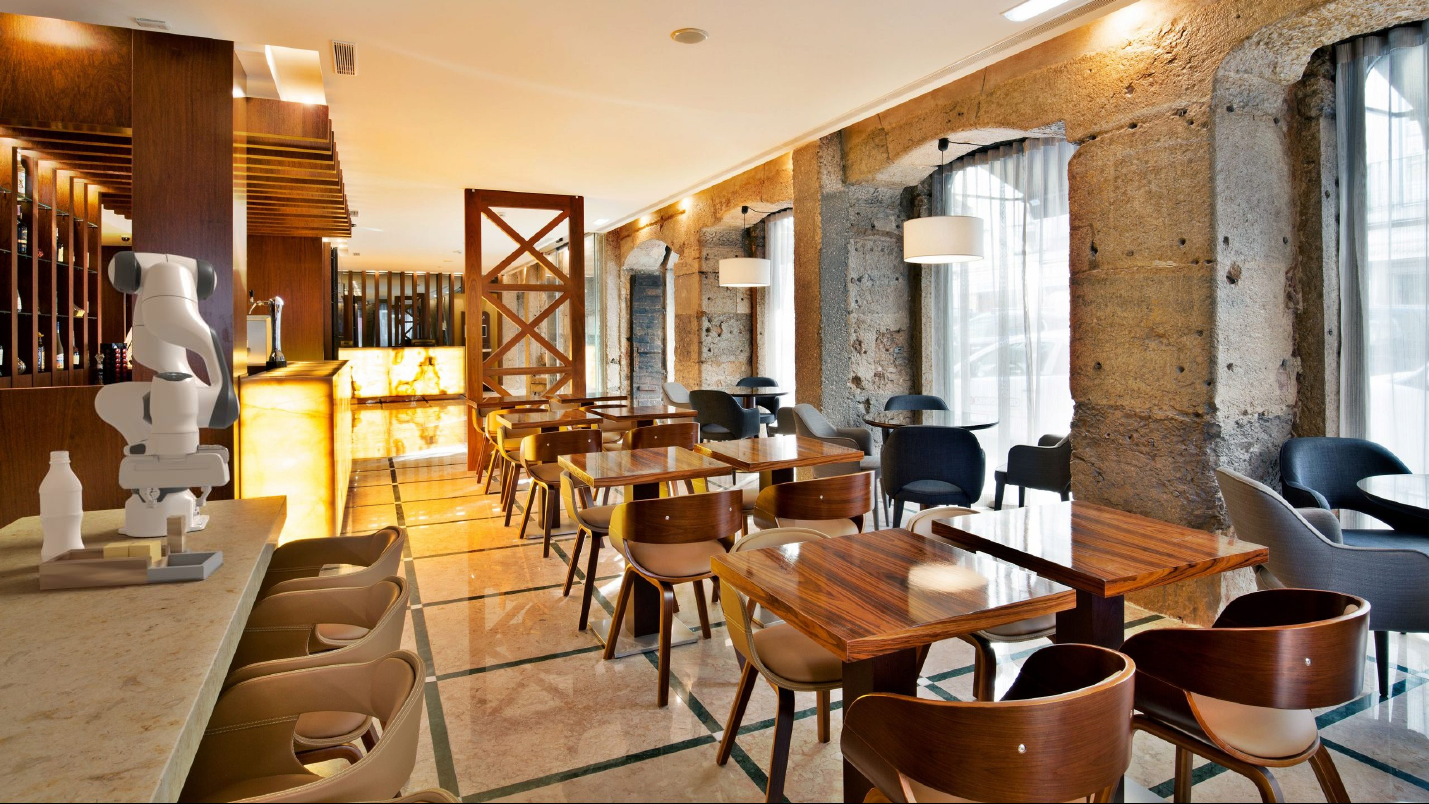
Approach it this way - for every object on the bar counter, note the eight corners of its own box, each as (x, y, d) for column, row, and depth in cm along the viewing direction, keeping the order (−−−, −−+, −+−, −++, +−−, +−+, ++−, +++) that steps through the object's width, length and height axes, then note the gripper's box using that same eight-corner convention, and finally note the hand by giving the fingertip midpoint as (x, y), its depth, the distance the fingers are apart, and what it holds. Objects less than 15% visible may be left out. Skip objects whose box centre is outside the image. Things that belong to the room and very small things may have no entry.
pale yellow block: (110, 561, 158) (110, 542, 158) (133, 560, 160) (133, 541, 160) (104, 566, 155) (103, 547, 154) (127, 565, 156) (127, 546, 156)
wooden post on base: (174, 559, 172) (173, 513, 171) (190, 558, 173) (189, 513, 172) (164, 566, 166) (163, 519, 165) (180, 565, 167) (179, 518, 166)
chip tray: (170, 567, 165) (170, 553, 165) (222, 564, 168) (222, 551, 168) (147, 583, 154) (146, 568, 154) (203, 580, 157) (203, 565, 157)
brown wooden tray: (71, 572, 160) (70, 549, 160) (170, 567, 165) (169, 544, 165) (40, 589, 149) (39, 564, 148) (147, 583, 154) (146, 559, 154)
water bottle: (59, 570, 161) (55, 454, 160) (32, 568, 163) (28, 453, 161) (93, 561, 168) (89, 450, 167) (67, 559, 170) (63, 449, 168)
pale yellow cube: (140, 559, 161) (140, 540, 160) (161, 558, 161) (160, 540, 161) (129, 564, 157) (128, 545, 156) (150, 563, 157) (149, 545, 157)
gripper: (233, 443, 174) (234, 502, 174) (127, 444, 167) (129, 506, 168) (224, 445, 167) (225, 507, 168) (114, 447, 161) (116, 511, 162)
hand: (176, 507), depth 168 cm, fingers open, 8 cm apart
